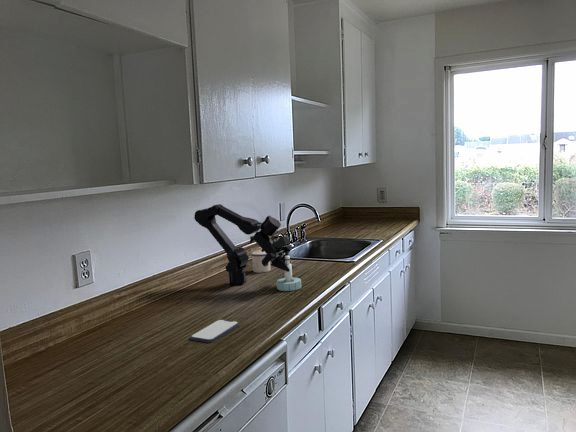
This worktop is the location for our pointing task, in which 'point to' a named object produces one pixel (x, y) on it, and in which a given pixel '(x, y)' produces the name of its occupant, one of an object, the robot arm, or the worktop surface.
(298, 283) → the pale blue segmented ring
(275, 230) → the robot arm
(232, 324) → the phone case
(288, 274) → the white rounded peg
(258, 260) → the teacup with lid
